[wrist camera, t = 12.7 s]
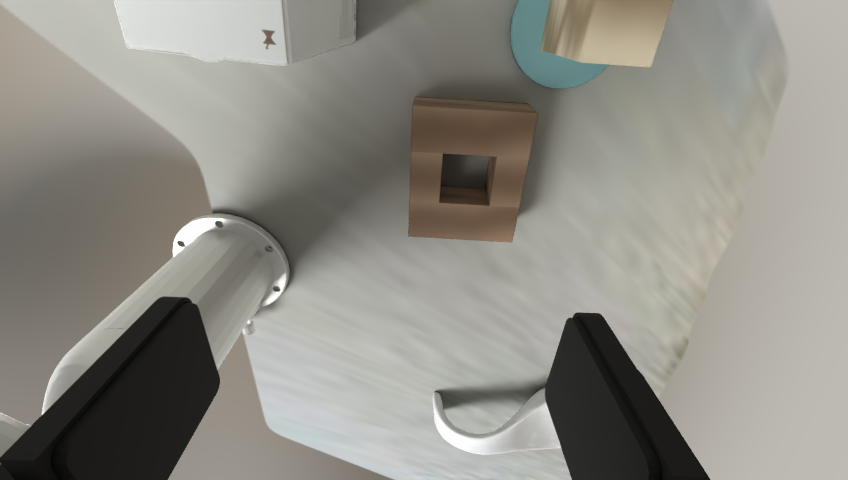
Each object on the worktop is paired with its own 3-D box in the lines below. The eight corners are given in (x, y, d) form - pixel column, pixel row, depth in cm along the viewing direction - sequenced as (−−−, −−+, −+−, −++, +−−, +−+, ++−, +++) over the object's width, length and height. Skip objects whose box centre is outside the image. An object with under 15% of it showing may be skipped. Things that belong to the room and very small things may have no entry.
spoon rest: (604, 370, 51) (627, 419, 44) (591, 422, 56) (609, 472, 50) (430, 374, 52) (429, 421, 46) (435, 425, 58) (435, 473, 52)
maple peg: (589, 53, 30) (650, 67, 21) (540, 50, 30) (581, 62, 21) (604, -6, 28) (679, -17, 19) (551, -10, 28) (602, -23, 19)
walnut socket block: (505, 222, 39) (512, 242, 36) (410, 217, 39) (408, 236, 36) (527, 103, 33) (537, 113, 30) (415, 97, 33) (412, 106, 30)
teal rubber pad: (605, 89, 32) (610, 91, 31) (502, 83, 32) (503, 85, 31) (642, -40, 28) (648, -42, 27) (521, -47, 28) (523, -49, 27)
